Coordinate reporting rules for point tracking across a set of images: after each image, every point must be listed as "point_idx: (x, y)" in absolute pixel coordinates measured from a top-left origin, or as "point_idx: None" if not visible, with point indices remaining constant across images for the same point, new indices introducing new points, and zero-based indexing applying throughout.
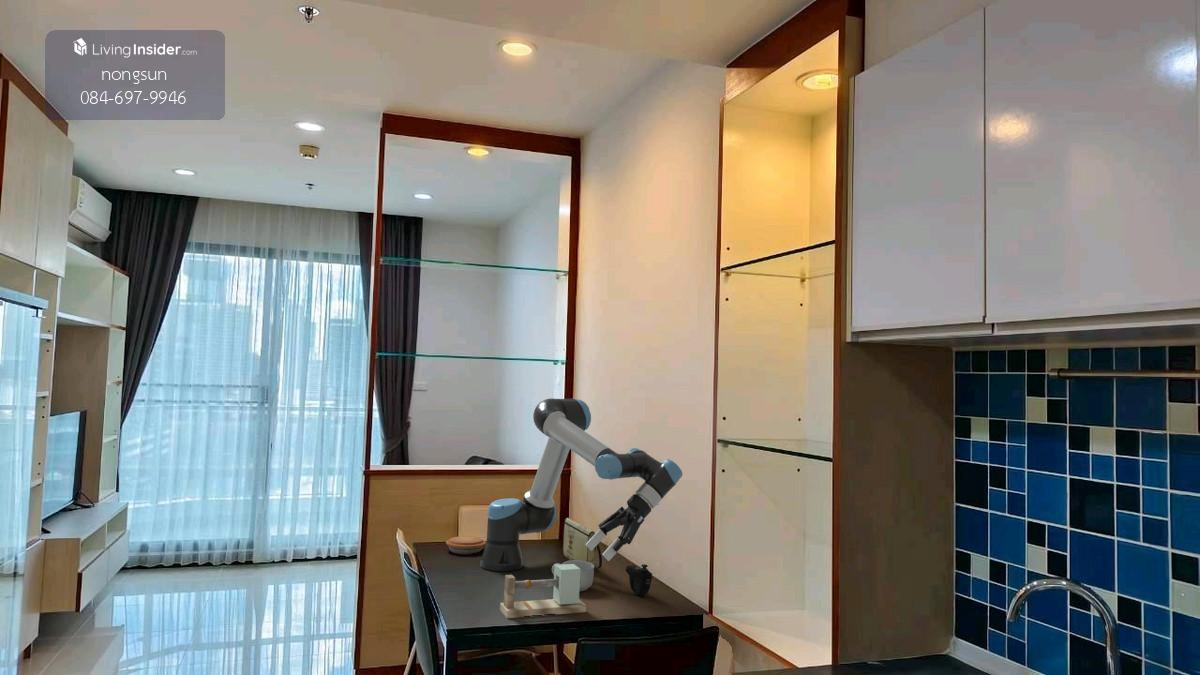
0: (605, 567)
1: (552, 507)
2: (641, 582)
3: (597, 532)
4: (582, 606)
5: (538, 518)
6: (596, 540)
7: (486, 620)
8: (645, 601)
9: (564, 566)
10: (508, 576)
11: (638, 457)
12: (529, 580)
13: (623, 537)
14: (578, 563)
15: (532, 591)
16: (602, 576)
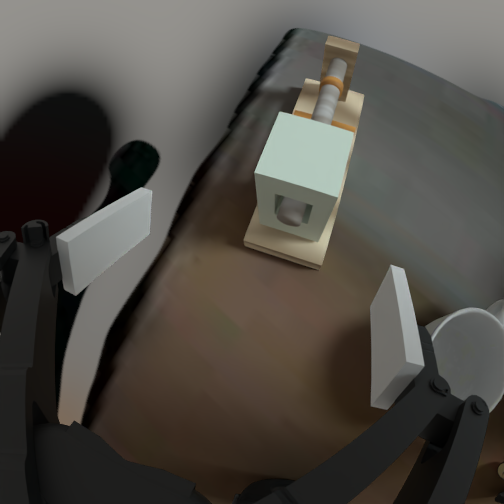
0: None
1: None
2: (252, 490)
3: (404, 335)
4: (247, 230)
5: None
6: (382, 331)
7: (311, 64)
8: (226, 461)
9: (317, 144)
10: (344, 42)
11: None
12: (328, 80)
13: (12, 238)
14: (494, 394)
15: (460, 240)
16: None
